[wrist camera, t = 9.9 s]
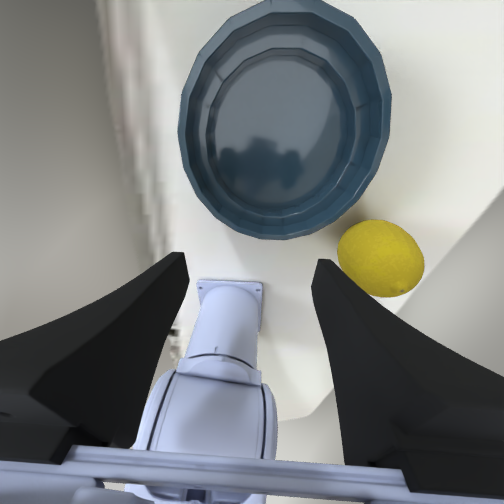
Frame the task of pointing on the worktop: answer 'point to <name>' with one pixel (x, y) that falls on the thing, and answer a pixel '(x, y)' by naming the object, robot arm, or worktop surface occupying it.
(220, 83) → the bowl
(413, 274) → the lemon
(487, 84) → the worktop surface
